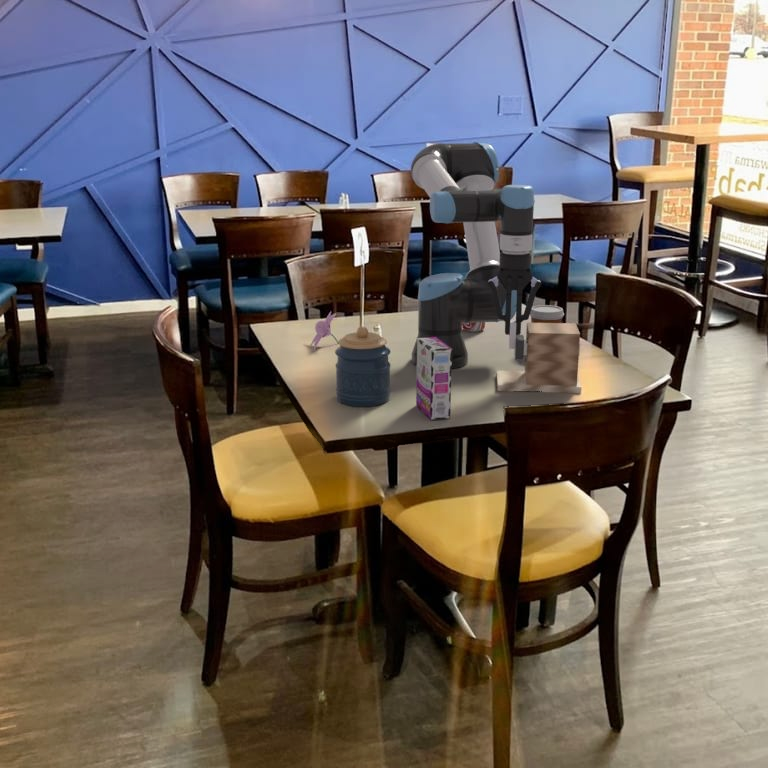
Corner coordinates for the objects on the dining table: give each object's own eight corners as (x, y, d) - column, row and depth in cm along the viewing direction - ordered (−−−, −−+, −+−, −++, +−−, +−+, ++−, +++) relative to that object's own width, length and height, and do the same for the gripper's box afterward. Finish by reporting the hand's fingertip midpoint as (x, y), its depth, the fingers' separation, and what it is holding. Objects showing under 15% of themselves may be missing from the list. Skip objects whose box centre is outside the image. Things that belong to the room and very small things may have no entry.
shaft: (515, 359, 224) (515, 340, 223) (514, 354, 229) (515, 334, 227) (579, 361, 223) (580, 341, 221) (577, 355, 227) (578, 335, 226)
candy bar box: (452, 419, 205) (453, 348, 200) (430, 421, 204) (431, 350, 199) (435, 403, 215) (436, 335, 210) (415, 405, 214) (415, 337, 209)
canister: (401, 401, 217) (401, 328, 211) (354, 411, 210) (352, 337, 205) (371, 386, 227) (371, 317, 222) (326, 396, 221) (324, 325, 215)
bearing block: (497, 391, 223) (499, 333, 219) (496, 376, 235) (498, 321, 230) (581, 393, 222) (584, 335, 217) (575, 378, 233) (579, 322, 228)
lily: (319, 341, 272) (304, 315, 267) (354, 328, 268) (339, 302, 263) (313, 364, 262) (297, 338, 258) (349, 351, 258) (333, 324, 254)
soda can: (486, 333, 275) (487, 293, 272) (462, 333, 275) (463, 293, 272) (483, 327, 282) (485, 288, 278) (461, 327, 282) (461, 288, 278)
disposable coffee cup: (552, 357, 251) (554, 314, 247) (521, 351, 256) (523, 309, 253) (568, 349, 258) (570, 307, 254) (537, 344, 263) (539, 303, 260)
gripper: (488, 254, 215) (485, 350, 223) (544, 254, 214) (539, 352, 221) (488, 248, 223) (485, 342, 230) (542, 249, 221) (538, 343, 228)
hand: (512, 347), depth 226 cm, fingers closed
